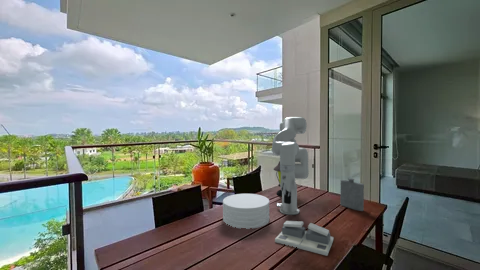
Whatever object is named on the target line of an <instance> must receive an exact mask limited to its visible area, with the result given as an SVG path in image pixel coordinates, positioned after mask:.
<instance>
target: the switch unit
mask: <svg viewBox="0 0 480 270" xmlns="http://www.w3.org/2000/svg"><path fill="white" fill-rule="evenodd" d="M307 229H308V228H307ZM334 238H335V237H334V236H331V232H329V233H328V235H327V236H325V235H322V234H320V233H318V232H315V231H313V230H311V229H308V230H306V227H305V226H302V227H288V226H284V225H283V226H282V227H281V232H279V234H278V235H277V236H276V237H275V238H274V243H277V244H282V245H284V244H285V246H288V245H289V246H288V247H292V246H293V248H296V247H297V248H296V249H300V250H304V251H308V252H311V253H315V254H319V255H323V256H326V257H327V256H329V252H330V250H331V247H332V245H333V243H334Z"/></svg>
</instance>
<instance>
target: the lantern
mask: <svg viewBox="0 0 480 270" xmlns="http://www.w3.org/2000/svg"><path fill="white" fill-rule="evenodd" d="M273 171H274V172H276V174H275V175H276V178H277V180H278V184H277V186H278V187H280V188H281V186H280V183H281V171H280V160H279V161H278V163H277V165H276V166H274V168H273ZM275 194H276V196H277V195H278V196H277V197H280V196H282V191H281V189H278V190H277V191H276V193H275Z"/></svg>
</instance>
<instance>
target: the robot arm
mask: <svg viewBox="0 0 480 270" xmlns="http://www.w3.org/2000/svg"><path fill="white" fill-rule="evenodd" d="M307 126H308V125H307V119H305V117H303V116H289V117H288V116H287V117H286V118H284V119H283V120H282V122H280V124H279V132H278V133H277V134H275V135H274V137H273V139H272V143H271V144H272V145H271V152H272V154H273V155H274V156H277V157H278V156H279V161H280V171H281V183H280V186H281V187H280V190H281V191H282V197H281V203H279V202H276V207H277V208H279V212H280V213H281V214H283V215H289V216H295V215H298V214H300V209H299V208H298V185H297V182H296V179H297V180H298V179H299V180H300V179H302V180H304V179H307V178H308V177H309V172H310V171H309V154H308V153H309V151H308V150H307V149H306V148H305V147H300V146H299V144H298V143H297V140H296V137H297V134H298V135H301V134H305V133H306V132H307Z"/></svg>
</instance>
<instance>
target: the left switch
mask: <svg viewBox="0 0 480 270" xmlns="http://www.w3.org/2000/svg"><path fill="white" fill-rule="evenodd" d="M304 224H305V223H304V221H302V220H301V221H299V220H298V221H297V220H286V221H285V222H284V223H283V226H288V227H303V226H304Z"/></svg>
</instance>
